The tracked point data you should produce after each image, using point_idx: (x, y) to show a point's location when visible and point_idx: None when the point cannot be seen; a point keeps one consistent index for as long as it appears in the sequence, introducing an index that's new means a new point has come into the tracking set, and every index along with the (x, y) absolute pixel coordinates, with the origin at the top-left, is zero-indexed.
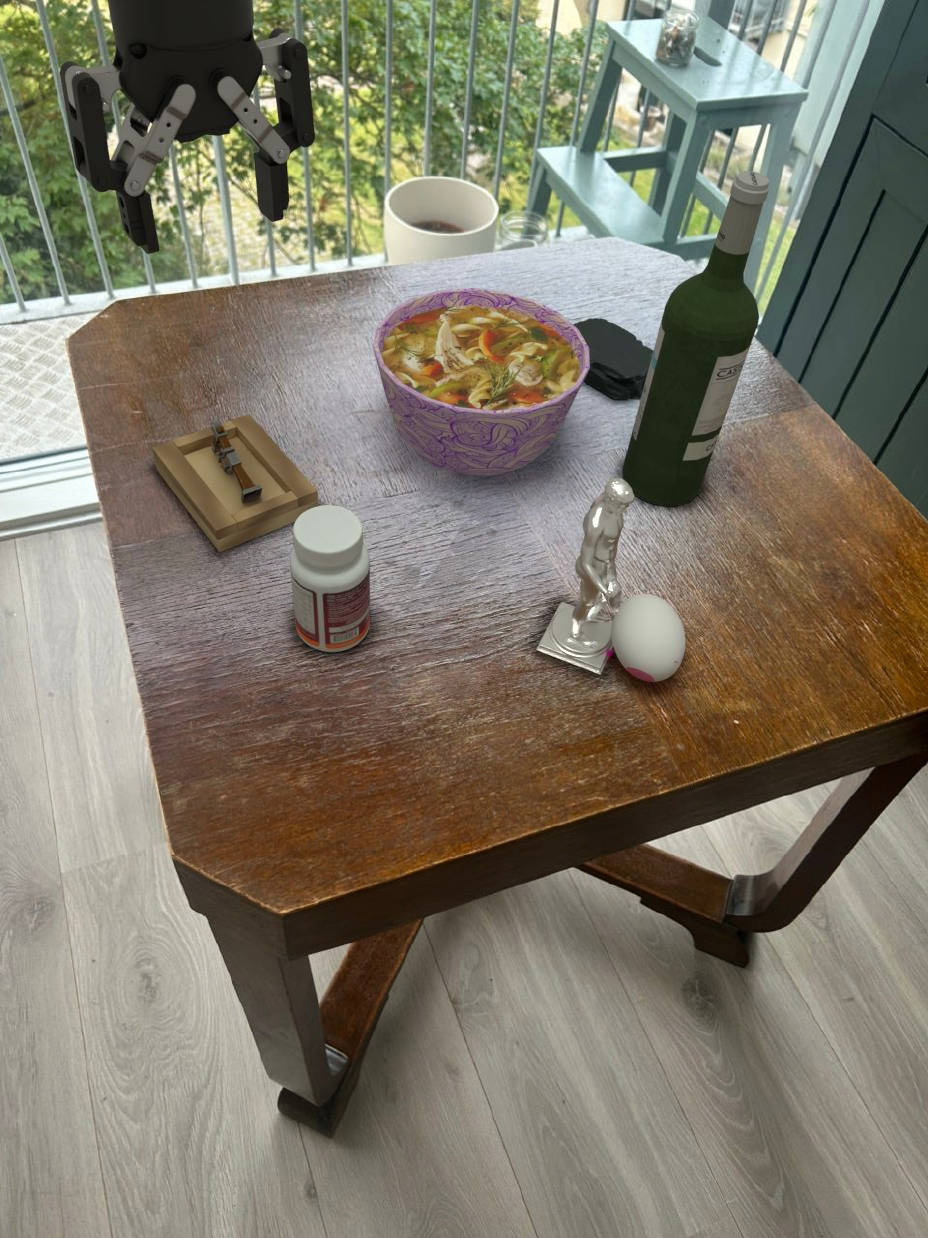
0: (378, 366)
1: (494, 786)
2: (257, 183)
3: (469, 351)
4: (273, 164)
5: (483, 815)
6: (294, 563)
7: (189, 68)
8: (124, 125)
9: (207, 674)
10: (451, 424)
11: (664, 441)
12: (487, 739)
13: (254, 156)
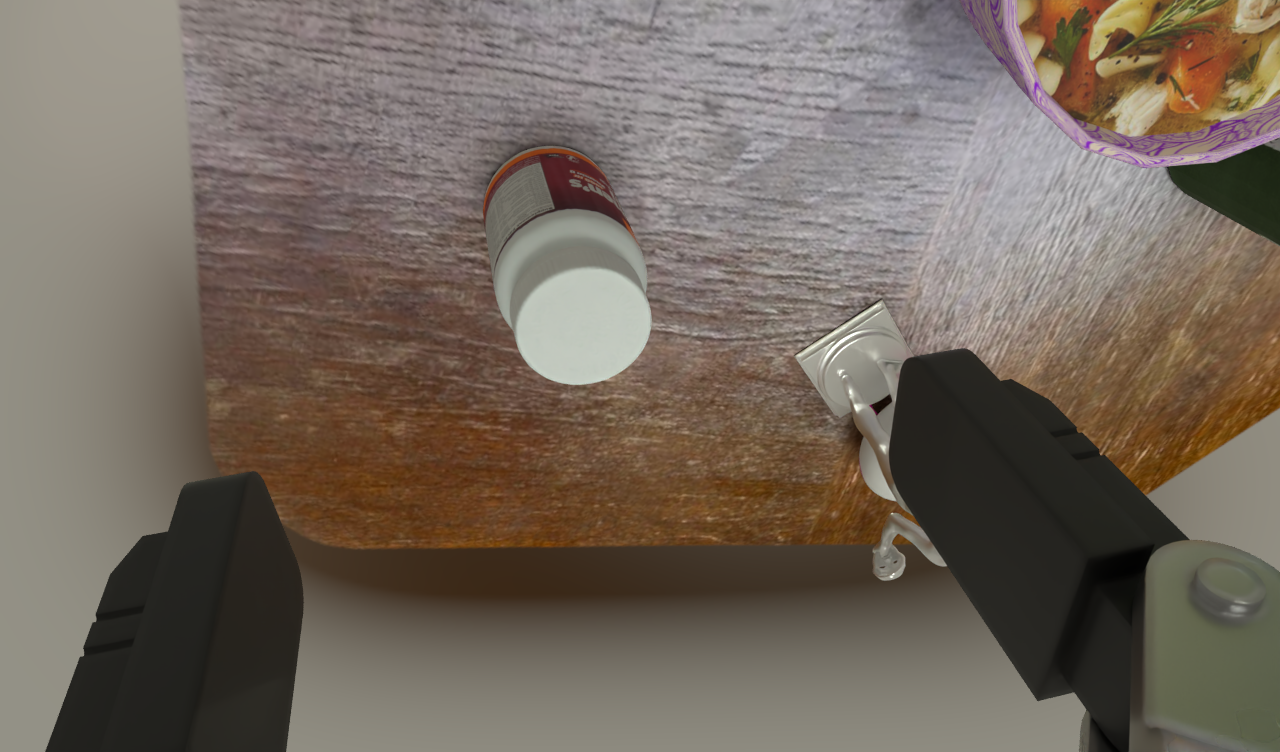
0: None
1: (618, 498)
2: (978, 444)
3: None
4: (1069, 685)
5: (586, 522)
6: (503, 291)
7: None
8: None
9: (305, 217)
10: (1007, 65)
11: (1272, 222)
12: (648, 447)
13: (1074, 546)
